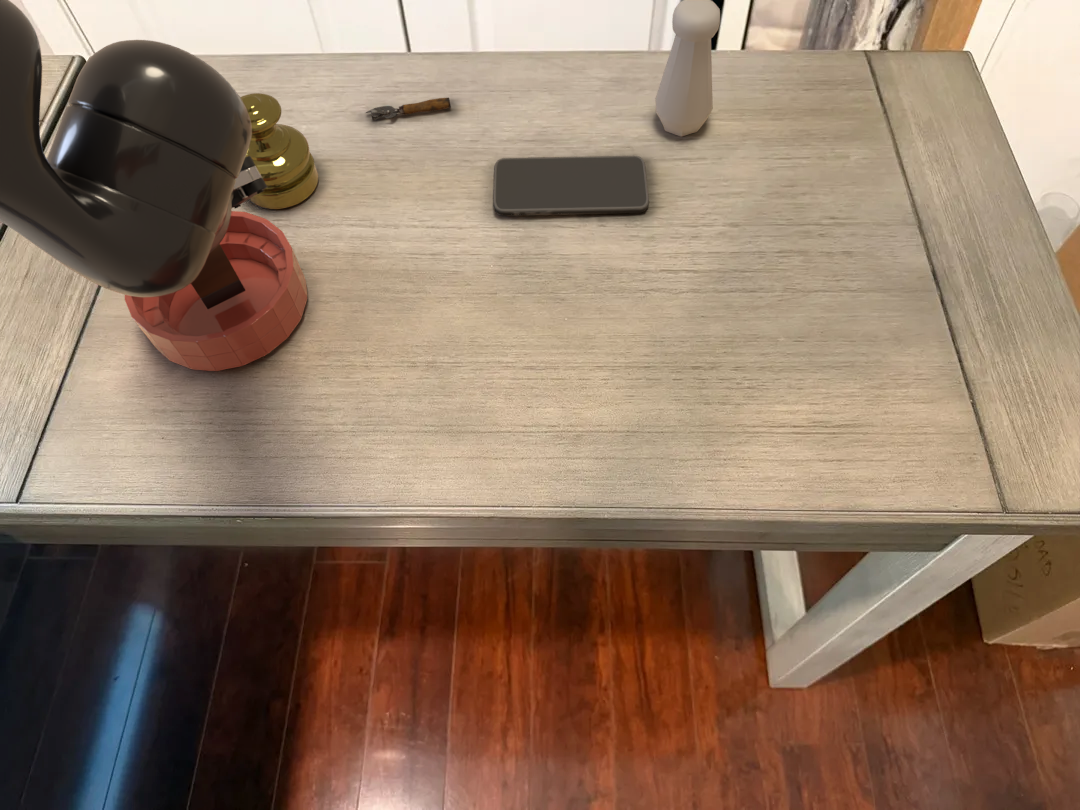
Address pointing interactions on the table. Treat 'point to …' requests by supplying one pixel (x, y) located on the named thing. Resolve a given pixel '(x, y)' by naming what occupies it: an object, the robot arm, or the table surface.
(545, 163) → the smartphone
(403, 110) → the can opener
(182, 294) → the bowl
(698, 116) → the salt shaker
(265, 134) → the brass weight
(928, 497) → the table surface
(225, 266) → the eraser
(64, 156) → the robot arm
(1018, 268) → the table surface
